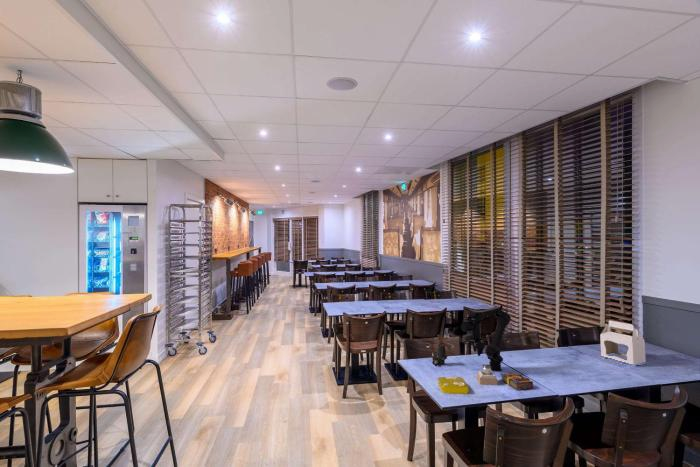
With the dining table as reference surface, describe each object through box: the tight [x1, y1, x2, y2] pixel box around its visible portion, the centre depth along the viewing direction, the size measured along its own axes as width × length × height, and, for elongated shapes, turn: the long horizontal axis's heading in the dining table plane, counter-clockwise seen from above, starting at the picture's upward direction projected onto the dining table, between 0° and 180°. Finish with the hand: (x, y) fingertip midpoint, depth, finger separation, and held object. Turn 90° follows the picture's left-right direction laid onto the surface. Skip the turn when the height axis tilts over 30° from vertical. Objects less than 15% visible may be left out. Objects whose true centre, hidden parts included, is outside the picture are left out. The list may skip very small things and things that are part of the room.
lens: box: [481, 364, 492, 375], centre depth 207 cm, size 5×5×6 cm
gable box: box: [599, 320, 646, 365], centre depth 245 cm, size 22×13×28 cm, turn 20°
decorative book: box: [499, 372, 534, 392], centre depth 202 cm, size 11×16×5 cm
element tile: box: [437, 376, 469, 395], centre depth 198 cm, size 15×15×5 cm
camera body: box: [476, 370, 498, 386], centre depth 207 cm, size 10×8×6 cm
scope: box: [431, 343, 448, 367], centre depth 240 cm, size 8×14×10 cm
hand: (476, 353), depth 224 cm, fingers open, 9 cm apart
